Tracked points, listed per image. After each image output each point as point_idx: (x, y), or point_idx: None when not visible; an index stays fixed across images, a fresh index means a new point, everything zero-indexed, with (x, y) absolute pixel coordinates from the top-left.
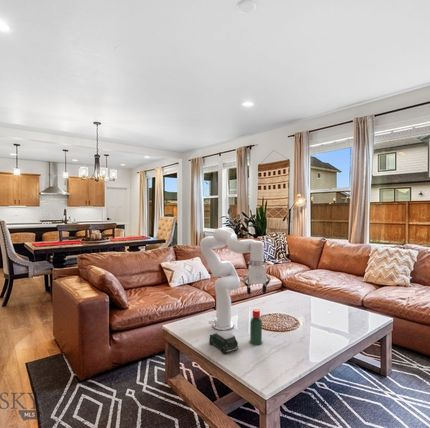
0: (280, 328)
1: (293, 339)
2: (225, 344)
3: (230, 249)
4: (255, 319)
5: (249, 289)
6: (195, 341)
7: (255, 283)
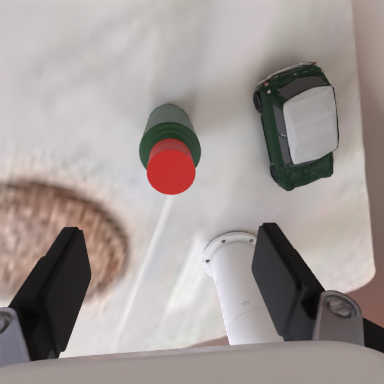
0: (43, 205)
1: (6, 106)
2: (323, 76)
3: None
4: (181, 137)
5: (306, 267)
6: (349, 184)
7: (268, 353)
